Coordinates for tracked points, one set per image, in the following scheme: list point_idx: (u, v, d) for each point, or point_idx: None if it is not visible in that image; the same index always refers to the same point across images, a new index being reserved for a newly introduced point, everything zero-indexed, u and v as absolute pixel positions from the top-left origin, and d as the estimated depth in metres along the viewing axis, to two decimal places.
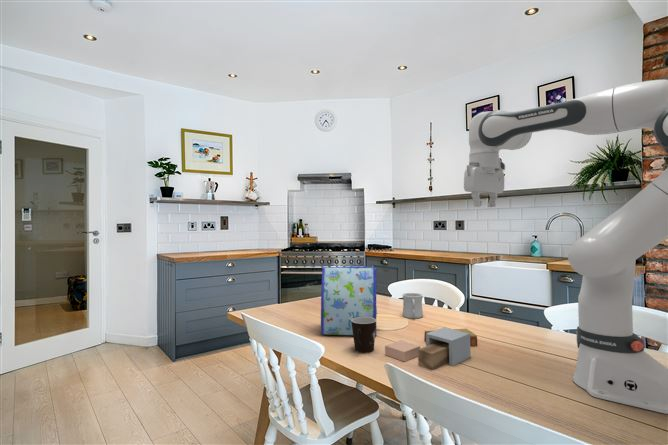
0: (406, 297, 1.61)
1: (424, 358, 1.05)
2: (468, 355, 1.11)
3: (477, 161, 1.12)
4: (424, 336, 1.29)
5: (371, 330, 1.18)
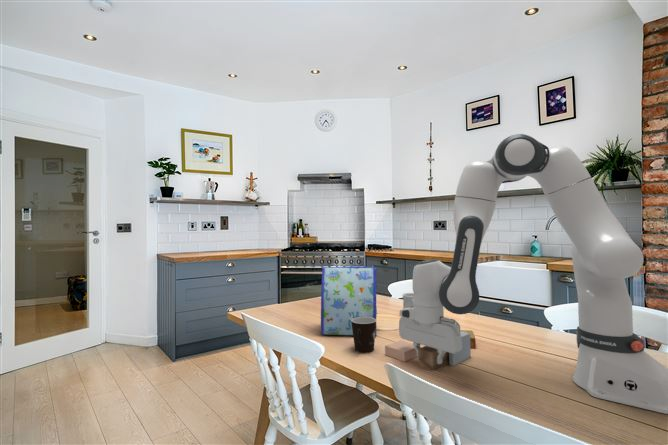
0: (406, 297, 1.60)
1: (424, 358, 1.05)
2: (468, 355, 1.11)
3: (441, 315, 1.03)
4: None
5: (371, 330, 1.18)
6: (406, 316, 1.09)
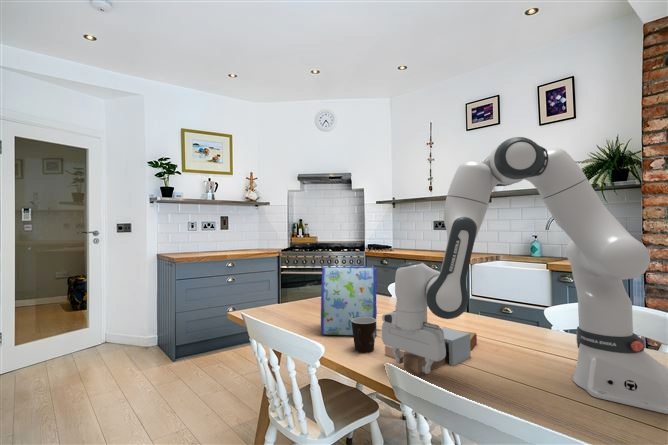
0: None
1: (409, 365, 1.01)
2: (468, 355, 1.11)
3: (424, 320, 0.98)
4: None
5: (371, 330, 1.18)
6: (388, 321, 1.04)
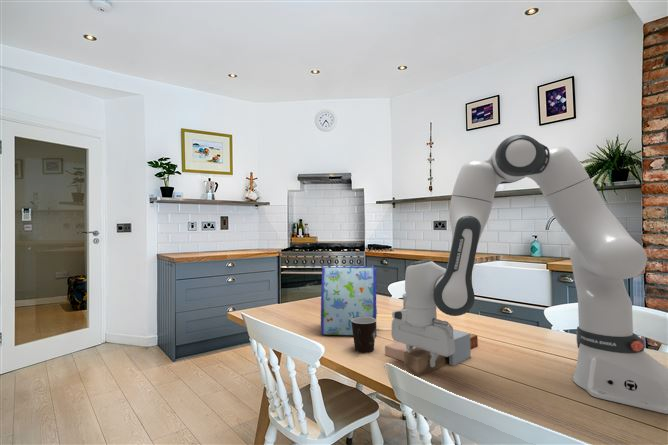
0: (406, 297, 1.61)
1: (409, 364, 1.01)
2: (468, 355, 1.11)
3: (433, 316, 1.01)
4: None
5: (371, 330, 1.18)
6: (398, 318, 1.06)
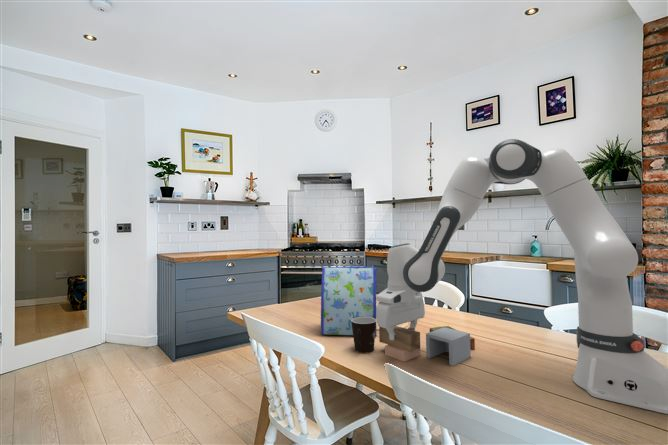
0: None
1: (414, 341, 1.11)
2: (468, 355, 1.11)
3: None
4: None
5: (371, 330, 1.18)
6: (397, 301, 1.09)
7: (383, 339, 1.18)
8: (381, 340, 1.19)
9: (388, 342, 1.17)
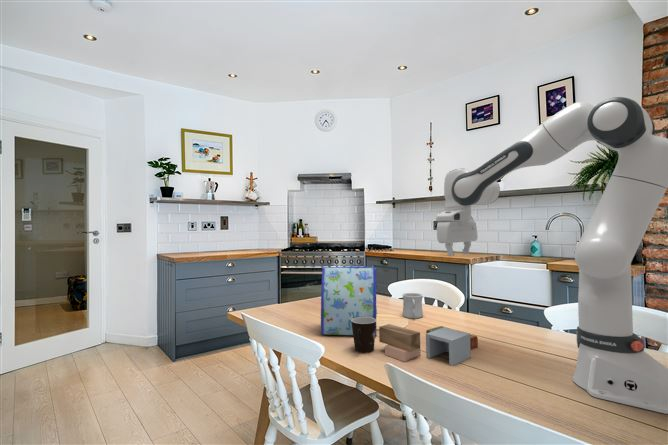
0: (406, 297, 1.61)
1: (414, 341, 1.11)
2: (468, 355, 1.11)
3: None
4: None
5: (371, 330, 1.18)
6: (457, 219, 1.19)
7: (383, 339, 1.18)
8: (381, 340, 1.19)
9: (388, 342, 1.17)
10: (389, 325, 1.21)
